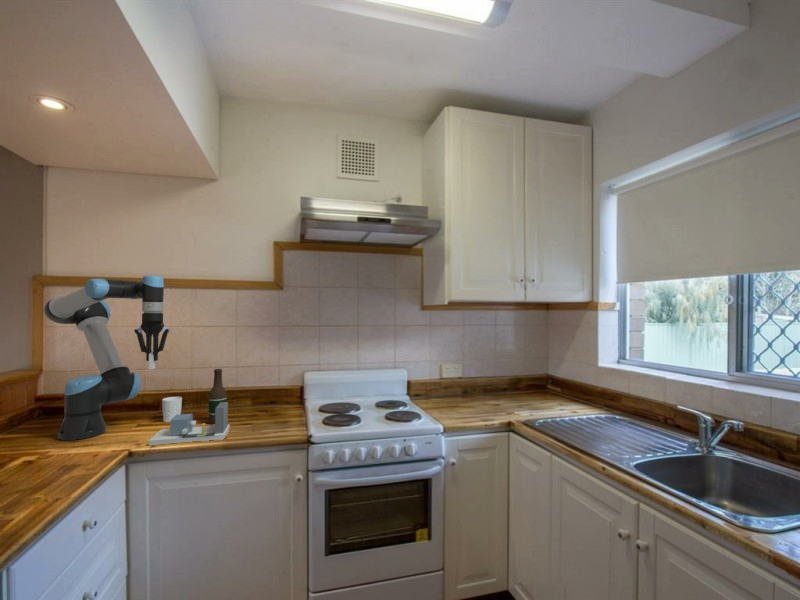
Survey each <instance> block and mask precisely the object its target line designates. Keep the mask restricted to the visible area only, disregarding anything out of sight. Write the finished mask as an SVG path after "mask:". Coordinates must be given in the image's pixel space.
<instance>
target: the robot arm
mask: <svg viewBox="0 0 800 600" xmlns="http://www.w3.org/2000/svg"><path fill="white" fill-rule="evenodd" d="M164 289H165V284H164V277H162V275H161V276H160V275H143V277H142V280H124V279H123V280H122V279H108V278H102V277H101V278H90V279H88V280H87V282H86V283H85V285H84V287H82V288H80V289H77V290H75V291H73V292H71V293H69V294H66V295H64V296H61V295H60V296H56V297H54V298H52V299H49V300H47V302H46V303H45V305H44V308H43V312H44V314H45V317H47V319H49V320H50V321H52V322H54V323H56V324H60V325H61V324H62V325H76V327H77V329H78V331H80V332H82V333H83V334H84V336H85V339H86V342H87V344H88V347H89V348H90V351H91V355H92V356H93V358H94V361H95V364H96V367H97V368H98V371H99V374H89V375H84V376H78V377H75V378H72V379H70V380H68V381H67V382H66V383H65V385H64V390H63V391H64V392H63V394H64V395H63V396H64V402H63V403H64V404H63V405H64V408H63V409H64V411H63V412H64V414H63V416H64V417H63V421H62V423H61V425H60V428H59V430H58V432H57V439H58V440H59V439H61V440H60V441H77V440H76V439H79V440H84V438H85V439H88V438H89V437H90V438H93V437H97V436H100V435H102V434H104V433H106V431H107V425H106V423H105V420H104V418H103V415H102V406H103V405H108V404H109V405H110V404H114V403H119V402H125V401H127V400H131V399H135V397H137V395H138V394H139V392H140V390H141V384H142V383H141V382H142V381H141V377H140V375H139V374H138V373H136V372H135V371H134V372H131V371H130V368H129V367H128V366H127V365H123V362H122V360H121V358H120V355H119V352H118V351H117V349H116V345H115V343H114V341H113V339H112V337H111V334H110V331H109V329H108V327H107V324H108V323H109V320H110V319H111V313H110V312H111V308H110V306H109V304H108V303H107V302H106V301H105V300H106V299H107V300H108V299H131V300H138V299H141V306H142V307H141V312H143V313H142V314H141V325H140V327H138V328H135V329H134V330H133V331H134V333H135V335H136V337H137V341H138V345H139V348H140V353H141V352H142V353H145V354H146V355H145V357H146V358H145V359H146V362H148V370H154V369H156V362H157V361H158V360H159V353H161V352H162V351H164V348H165V345H166V340H167V338H168V334H169V333H170V331H171V328H168V327H166V326H165V324H164V313H163V312H164V294H165V293H164ZM161 332H162V334H161V337H159V336H160V333H161ZM143 333H145V337H144V336H143ZM152 337H153V338H152ZM145 338H146V339H145ZM159 338H160V342H159Z"/></svg>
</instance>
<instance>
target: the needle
mask: <svg viewBox="0 0 800 600" xmlns="http://www.w3.org/2000/svg"><path fill="white" fill-rule="evenodd" d="M201 426H202V434H204V433H205V426H206V422H203V423H202V424H201Z"/></svg>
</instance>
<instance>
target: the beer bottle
mask: <svg viewBox="0 0 800 600" xmlns="http://www.w3.org/2000/svg"><path fill="white" fill-rule="evenodd" d="M213 373H214V375H213V385H212V388H211V390H210V391H209V395H208V424H209V425H213V424H215V408H216V407H217V406H218V405H219V403H220V402H227V391H226V389H225V387H224V385H223V374H222V373H223V369H222V368H215V369H213Z"/></svg>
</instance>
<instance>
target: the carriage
mask: <svg viewBox="0 0 800 600" xmlns="http://www.w3.org/2000/svg"><path fill="white" fill-rule="evenodd" d="M193 419H194V414H193V413H181V414H179V415H176V416H174V417H173V418H172V419H171V420H170V422H169V424H170V426H169V429H170V436H174V435H186V434H188V433H189V432H190V431H191V430H192V428H193V427H197V420H193Z"/></svg>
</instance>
